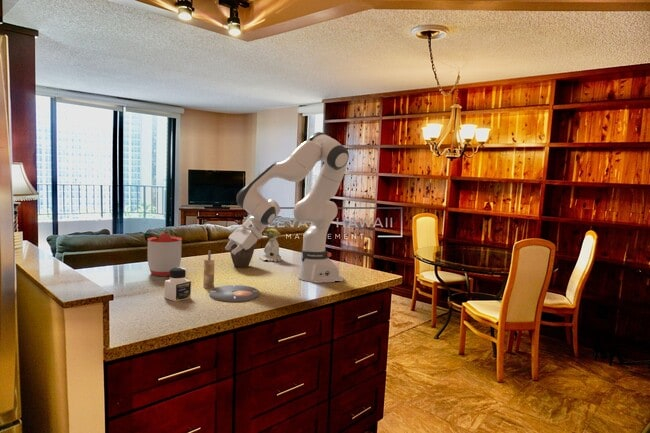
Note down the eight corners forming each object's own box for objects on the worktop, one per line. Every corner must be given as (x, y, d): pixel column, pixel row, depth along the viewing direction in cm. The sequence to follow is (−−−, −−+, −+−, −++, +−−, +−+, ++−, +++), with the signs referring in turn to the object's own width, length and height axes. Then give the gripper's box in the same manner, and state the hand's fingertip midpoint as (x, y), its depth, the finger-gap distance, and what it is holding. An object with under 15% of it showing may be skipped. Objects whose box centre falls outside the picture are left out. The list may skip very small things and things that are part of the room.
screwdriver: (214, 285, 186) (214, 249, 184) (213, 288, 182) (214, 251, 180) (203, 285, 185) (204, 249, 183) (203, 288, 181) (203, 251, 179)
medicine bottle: (176, 302, 160) (176, 271, 159) (164, 298, 164) (164, 268, 163) (190, 297, 166) (191, 268, 165) (179, 294, 170) (179, 265, 169)
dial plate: (257, 287, 186) (257, 284, 186) (260, 301, 167) (260, 298, 166) (210, 287, 182) (210, 284, 181) (208, 302, 162) (208, 298, 162)
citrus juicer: (176, 268, 213) (176, 229, 211) (185, 276, 199) (186, 234, 197) (143, 270, 205) (143, 230, 202) (150, 279, 190) (150, 235, 188)
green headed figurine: (276, 256, 254) (278, 226, 252) (284, 261, 243) (286, 230, 241) (257, 257, 249) (258, 227, 247) (265, 262, 237) (266, 230, 235)
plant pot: (261, 266, 227) (262, 237, 225) (241, 271, 214) (243, 240, 212) (241, 262, 235) (242, 233, 233) (221, 266, 222) (222, 236, 220)
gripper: (239, 221, 196) (217, 242, 192) (254, 227, 179) (231, 250, 175) (248, 230, 199) (227, 251, 195) (264, 237, 181) (241, 260, 178)
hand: (229, 251), depth 185 cm, fingers open, 8 cm apart
